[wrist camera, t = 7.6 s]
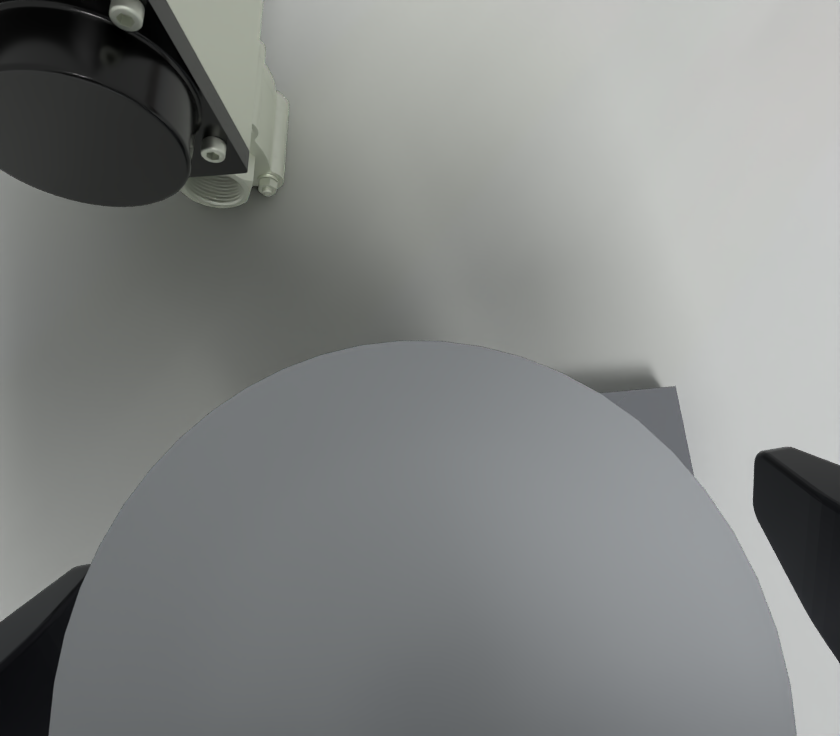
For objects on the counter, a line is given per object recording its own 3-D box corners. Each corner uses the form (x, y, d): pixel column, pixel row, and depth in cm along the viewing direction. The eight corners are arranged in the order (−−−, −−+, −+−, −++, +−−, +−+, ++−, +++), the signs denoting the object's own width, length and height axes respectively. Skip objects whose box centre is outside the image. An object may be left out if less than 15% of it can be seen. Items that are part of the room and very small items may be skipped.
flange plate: (773, 923, 14) (793, 946, 13) (235, 936, 15) (218, 958, 14) (668, 394, 18) (677, 383, 17) (250, 432, 19) (237, 423, 18)
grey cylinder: (630, 719, 15) (1053, 1106, 4) (385, 791, 15) (31, 1397, 4) (544, 474, 17) (639, 224, 6) (329, 539, 17) (-8, 421, 6)
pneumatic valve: (315, 17, 24) (159, -483, 13) (298, 303, 20) (56, -59, 9) (173, 31, 25) (-94, -436, 14) (130, 313, 21) (-293, -18, 10)
